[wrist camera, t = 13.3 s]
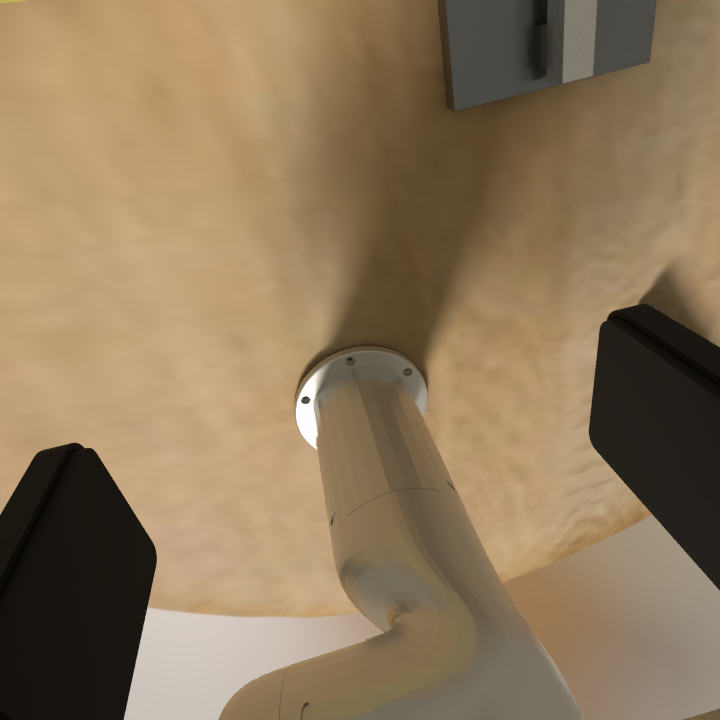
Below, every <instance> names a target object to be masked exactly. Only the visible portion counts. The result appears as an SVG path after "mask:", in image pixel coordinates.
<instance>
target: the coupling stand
mask: <svg viewBox="0 0 720 720" xmlns="http://www.w3.org/2000/svg"><path fill="white" fill-rule="evenodd" d="M438 8H439V19H440V30H441V42H442V53H443V64H444V75H445V86H446V98H447V109H449V110H453V111H457V110H461V109H465V108H469V107H473V106H477V105H481V104H485V103H489V102H493V101H497V100H501V99H505V98H509V97H513V96H517V95H521V94H525V93H529V92H533V91H537V90H541V89H545V88H549V87H553V86H557V85H560V84H564V83H568V82H572V81H576V80H580V79H584V78H588V77H592V76H596V75H600V74H604V73H608V72H612V71H616V70H620V69H624V68H628V67H632V66H636V65H640V64H644V63H648V62H650V53H651V44H652V35H653V26H654V18H655V9H656V0H438Z"/></svg>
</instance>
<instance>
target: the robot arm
mask: <svg viewBox="0 0 720 720" xmlns="http://www.w3.org/2000/svg"><path fill="white" fill-rule="evenodd" d="M349 357H351V358H349ZM427 403H428V393H427V388H426V384H425V381H424V379H423V377H422V375H421V373H420V371H419V370H418V369H417V367H416V366H415V364H414V363H413V362H411V361H410V360H409V359H408V358H407V357H406V356H404V355H402V354H400V353H398V352H396V351H394V350H391V349H387V348H384V347H376V346H360V347H353V348H349V349H345V350H342V351H339V352H337V353H334V354H332V355H330V356H328V357H327V358H325V359H324V360H322V361H320V362H319V363H318V364H317V365H316V366H314V367H313V368H312V369H311V370H310V371H309V372H308V374H307V375H306V376H305V378H304V379H303V380H302V382H301V384H300V386H299V388H298V390H297V394H296V398H295V407H294V412H295V419H296V424H297V427H298V429H299V432H300V433H301V435H302V436H303V438H304V439H305V440H306V441H307V442H308V443H309V444H310V445H311V446H312V447H313V448H315V449H316V450H318V457H319V463H320V470H321V476H322V482H323V489H324V495H325V502H326V508H327V515H328V521H329V528H330V534H331V541H332V547H333V555H334V561H335V567H336V571H337V575H338V578H339V580H340V583H341V585H342V588H343V589H344V591H345V593H346V594H347V596H348V598H349V599H350V601H351V602H352V603H353V604H354V605H355V607H356V608H357V609H358V610H359V611H360V612H361V613H362V614H363V615H364V616H365V617H366V618H367V619H368V620H370V621H371V622H372V623H373V624H374V625H375V626H377V627H378V628H379V629H381V630H382V631H383V632H384V633H383V634H380V635H378V636H375V637H372V638H370V639H367V640H366V641H364V642H361V643H358V644H355V645H352V646H349V647H345V648H343V649H339V650H336V651H333V652H330V653H327V654H323V655H320V656H317V657H315V658H311V659H308V660H305V661H301V662H299V663H295V664H292V665H290V666H287V667H284V668H281V669H278V670H276V671H273V672H271V673H268V674H265V675H263V676H261V677H259V678H257V679H255V680H253V681H251V682H249V683H248V684H246V685H245V686H244V687H243V688H241V689H240V690H239V691H238V692H237V693H235V694H234V696H233V697H232V698H231V699H230V700H229V702H228V703H227V704H226V706H225V708H224V709H223V711H222V713H221V715H220V717H219V720H584V719H583V716H582V714H581V712H580V709H579V707H578V705H577V703H576V701H575V699H574V697H573V694H572V692H571V691H570V689H569V687H568V685H567V683H566V681H565V680H564V678H563V676H562V675H561V673H560V671H559V670H558V668H557V666H556V665H555V663H554V661H553V660H552V659H551V657H550V655H549V654H548V653H547V651H546V650H545V648H544V647H543V645H542V644H541V642H540V641H539V639H538V638H537V636H536V635H535V633H534V632H533V630H532V629H531V627H530V626H529V624H528V623H527V621H526V620H525V618H524V617H523V615H522V614H521V612H520V611H519V610H518V608H517V606H516V605H515V603H514V602H513V600H512V599H511V597H510V595H509V594H508V592H507V590H506V589H505V587H504V585H503V584H502V582H501V580H500V578H499V576H498V575H497V573H496V571H495V569H494V567H493V565H492V563H491V562H490V560H489V558H488V556H487V554H486V552H485V550H484V548H483V546H482V544H481V542H480V540H479V538H478V535H477V533H476V531H475V529H474V527H473V525H472V523H471V521H470V518H469V516H468V514H467V512H466V510H465V507H464V505H463V503H462V501H461V499H460V497H459V494H458V492H457V490H456V488H455V486H454V484H453V481H452V479H451V477H450V475H449V473H448V471H447V468H446V466H445V464H444V462H443V460H442V458H441V455H440V453H439V451H438V449H437V447H436V445H435V442H434V440H433V438H432V436H431V434H430V432H429V429H428V427H427V425H426V423H425V421H424V419H423V417H424V414H425V412H426V408H427ZM589 437H590V440H591V443H592V445H593V447H594V448H595V450H596V451H597V452H598V453H599V454H600V455H601V457H602V458H603V459H604V460H605V461H606V462H607V463H608V464H609V466H610V467H611V468H612V469H613V470H614V471H615V472H616V474H617V475H618V476H619V477H620V478H621V479H622V480H623V481H624V483H625V484H626V485H627V486H628V487H629V488H630V489H631V490H632V492H633V493H634V494H635V495H636V496H637V497H638V498H639V500H640V501H641V502H642V503H643V504H644V505H645V506H646V507H647V509H648V510H649V511H650V512H651V513H652V514H653V515H654V517H655V518H656V519H657V520H658V521H659V522H660V523H661V524H662V526H663V527H664V528H665V529H666V530H667V531H668V532H669V533H670V535H671V536H672V537H673V538H674V539H675V540H676V541H677V543H678V544H679V545H680V546H681V547H682V548H683V549H684V550H685V552H686V553H687V554H688V555H689V556H690V557H691V558H692V560H693V561H694V562H695V563H696V564H697V565H698V566H699V568H700V569H701V570H702V571H703V572H704V573H705V574H706V575H707V577H708V578H709V579H710V580H711V581H712V582H713V583H714V585H715V586H716V587H717V588H718V589H719V590H720V347H718V346H716V345H715V344H713V343H711V342H710V341H708V340H706V339H705V338H703V337H701V336H700V335H698V334H696V333H695V332H693V331H691V330H690V329H688V328H686V327H685V326H683V325H681V324H680V323H678V322H677V321H675V320H673V319H672V318H670V317H668V316H667V315H665V314H663V313H662V312H660V311H658V310H657V309H655V308H653V307H652V306H650V305H647V304H640V305H636V306H632V307H628V308H624V309H620V310H616V311H613V312H611V313H610V314H609V316H608V318H607V321H605V322H603V323H602V325H601V327H600V332H599V341H598V351H597V360H596V369H595V378H594V388H593V397H592V406H591V415H590V425H589ZM156 563H157V555H156V549H155V546H154V544H153V542H152V541H151V539H150V537H149V536H148V534H147V533H146V531H145V529H144V528H143V526H142V525H141V523H140V521H139V520H138V518H137V517H136V515H135V514H134V512H133V510H132V509H131V507H130V506H129V504H128V502H127V501H126V499H125V498H124V496H123V494H122V493H121V491H120V490H119V488H118V486H117V485H116V483H115V482H114V480H113V479H112V477H111V475H110V474H109V472H108V471H107V469H106V467H105V466H104V464H103V463H102V461H101V459H100V458H99V456H98V455H97V453H96V452H95V451H94V450H93V449H91V448H84V447H83V446H82V445H80V444H79V443H71V444H67V445H62V446H58V447H54V448H50V449H46V450H42V451H40V452H38V453H37V454H36V456H35V457H34V458H33V460H32V462H31V464H30V465H29V467H28V469H27V470H26V472H25V474H24V475H23V477H22V479H21V481H20V482H19V484H18V486H17V487H16V489H15V491H14V493H13V494H12V496H11V498H10V499H9V501H8V503H7V504H6V506H5V508H4V510H3V511H2V513H1V515H0V720H124V715H125V711H126V706H127V701H128V696H129V692H130V687H131V682H132V677H133V673H134V668H135V663H136V658H137V654H138V649H139V644H140V639H141V635H142V630H143V625H144V621H145V616H146V611H147V606H148V602H149V597H150V592H151V587H152V583H153V578H154V573H155V569H156ZM683 720H720V709H717V710H714V711H710V712H707V713H704V714H700V715H697V716H693V717H690V718H687V719H683Z"/></svg>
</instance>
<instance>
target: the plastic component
mask: <svg viewBox="0 0 720 720" xmlns="http://www.w3.org/2000/svg"><path fill="white" fill-rule="evenodd" d="M20 1H26V0H0V3H8V2H20Z"/></svg>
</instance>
